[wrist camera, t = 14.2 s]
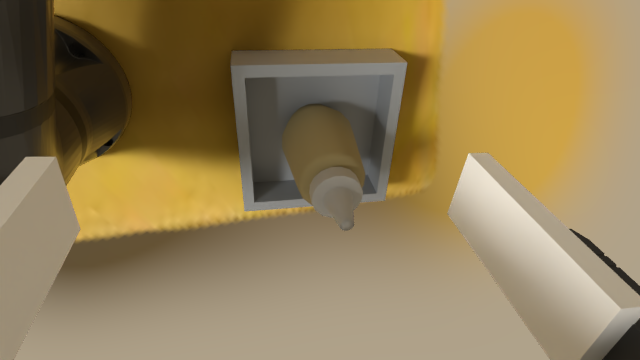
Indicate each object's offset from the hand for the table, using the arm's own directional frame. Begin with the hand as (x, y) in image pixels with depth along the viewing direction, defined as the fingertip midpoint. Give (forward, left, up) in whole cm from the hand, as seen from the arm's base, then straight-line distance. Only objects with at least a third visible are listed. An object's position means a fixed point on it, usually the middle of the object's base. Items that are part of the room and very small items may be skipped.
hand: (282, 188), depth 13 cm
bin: (+6, -13, -31) cm, 34 cm away
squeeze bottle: (+6, -13, -30) cm, 33 cm away
